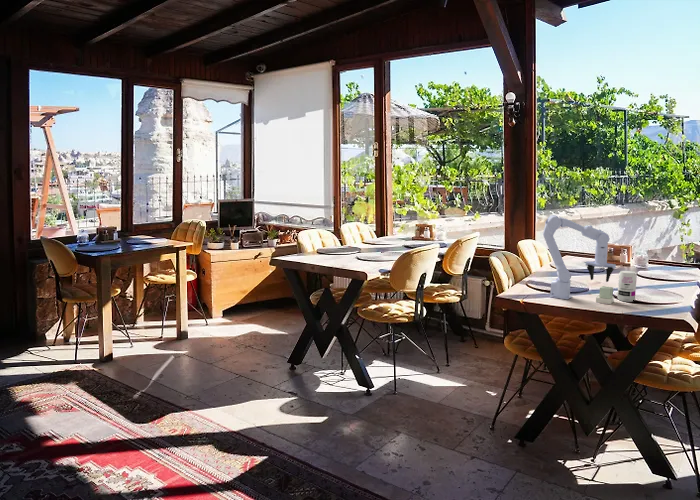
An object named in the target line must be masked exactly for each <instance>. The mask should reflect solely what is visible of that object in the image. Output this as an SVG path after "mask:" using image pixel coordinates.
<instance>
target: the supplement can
mask: <svg viewBox="0 0 700 500" xmlns="http://www.w3.org/2000/svg"><path fill="white" fill-rule="evenodd" d="M637 277H638V276H637V273H636V271H634V270H620V272H619V274H618V283H617V285H618V286H617V297H616V298H617V299H618V300H619V301H621V302H625V303H626V302H627V303H631V302H634V301H635V299H636V291H637ZM633 300H634V301H633Z"/></svg>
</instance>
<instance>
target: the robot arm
mask: <svg viewBox="0 0 700 500" xmlns="http://www.w3.org/2000/svg"><path fill="white" fill-rule="evenodd" d="M560 227H561V228H565V227H568V228H570V229H572V230H576V231H577V232H580V233H581V235H582V236H583V237H585V238H588V239H590V240H592V241H596V242H595V251H594V261H586V262H585V266H586V269H587V271H588V274H589V277H590V281H593V280H594V277H595V276H594V272H595V267H598V268H606V269H605V272H606V273H605V275H606V276H605V277H606V278H605V282H606V283H607V282H609V281H610V277H611V275H612V273H613V271H614V270H615V269H616V268H617V264H615V263H608V262H607V261H608V249H609V248H608V245H609V244H608V243H609V242H610V235H609V234H608V233H606V232H605V231H602V229H600V228H599V229H597V228H596V227H595V228H594V227H593V225H588V224H587V225H585V226H584V225H582V224H580V223H577V222H574V221H573V220H571V219H568V218H567V217H566V218H565V217H563V216H558V215H555V214H552V215H549V216H548V217H547V219H546V220H545V222H544V227H543V232H542V235H543V238H544V240H545V244H546V246H547V249H548V250H549V254H550V256H551V258H552V260H553V264H554V266H555V269H556V276H557V278H556V279H553V280H551V283H550V295H549V297H550V298H555V299H561V300H569V299H571V298H573V295H571V281H572V280H571V278H572V273H571V272H570V271H569V269H568V268H567V266H566V264H565V262H564V259H563V257H562V255H561V252H560V249H559V247H558V245H557V242H556V239H555V237H554V234H555V233H556V231H557V230H558V229H559V228H560Z"/></svg>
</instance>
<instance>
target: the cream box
mask: <svg viewBox="0 0 700 500" xmlns="http://www.w3.org/2000/svg"><path fill="white" fill-rule="evenodd" d="M614 299H615V296H613V297H612V298H610V299H608V298H601V297H599V295H597V296H596V297H595V303H597V304H598V303H599V304H605V305H612V303H614Z"/></svg>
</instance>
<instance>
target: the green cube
mask: <svg viewBox="0 0 700 500" xmlns="http://www.w3.org/2000/svg"><path fill="white" fill-rule="evenodd" d="M598 296H599V297H601V298H608V299H610V298H612V297H614V287H613V286H605V285H603V286H600V287H599V295H598Z"/></svg>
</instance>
